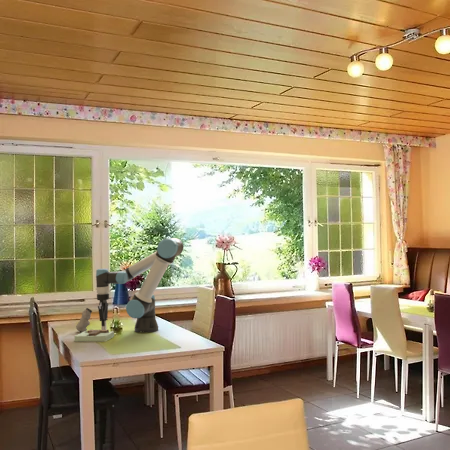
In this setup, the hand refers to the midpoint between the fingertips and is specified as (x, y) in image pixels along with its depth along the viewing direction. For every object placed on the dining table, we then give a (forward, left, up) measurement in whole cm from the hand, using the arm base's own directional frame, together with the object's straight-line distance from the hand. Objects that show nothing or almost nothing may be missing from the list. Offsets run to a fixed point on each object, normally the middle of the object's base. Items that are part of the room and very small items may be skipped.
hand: (104, 331), depth 330 cm
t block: (0, +13, -2) cm, 13 cm away
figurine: (+16, -7, -2) cm, 18 cm away
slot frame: (0, +15, -2) cm, 15 cm away
